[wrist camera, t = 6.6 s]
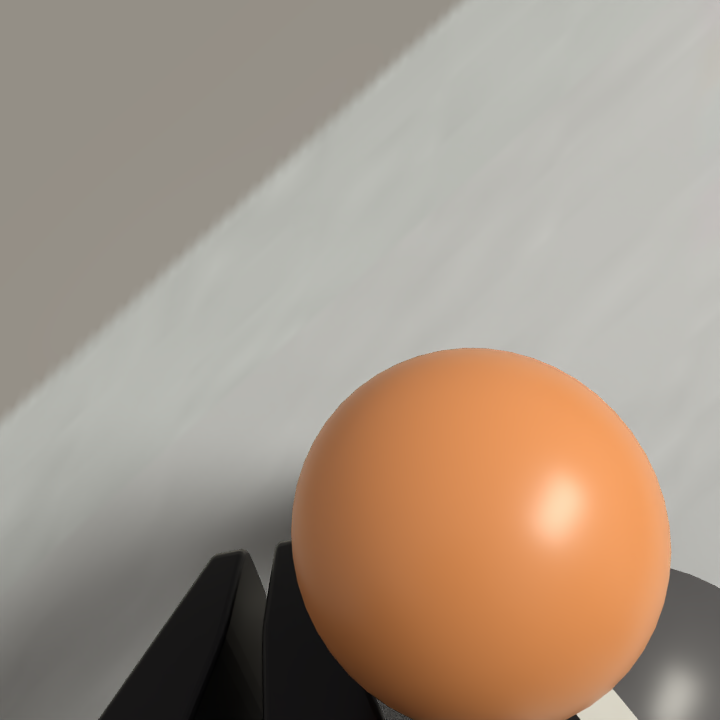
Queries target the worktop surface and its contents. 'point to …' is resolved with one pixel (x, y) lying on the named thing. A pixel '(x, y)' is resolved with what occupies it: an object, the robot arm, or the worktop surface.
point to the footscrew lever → (499, 551)
